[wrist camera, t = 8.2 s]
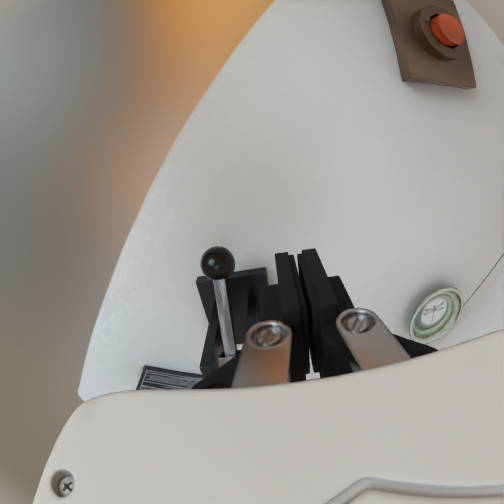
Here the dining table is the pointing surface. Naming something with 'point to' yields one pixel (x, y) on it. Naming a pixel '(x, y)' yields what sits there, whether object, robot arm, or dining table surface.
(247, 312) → the bracket
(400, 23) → the button block
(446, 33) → the button
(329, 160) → the dining table surface
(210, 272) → the lever
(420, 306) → the saucer
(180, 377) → the small box
